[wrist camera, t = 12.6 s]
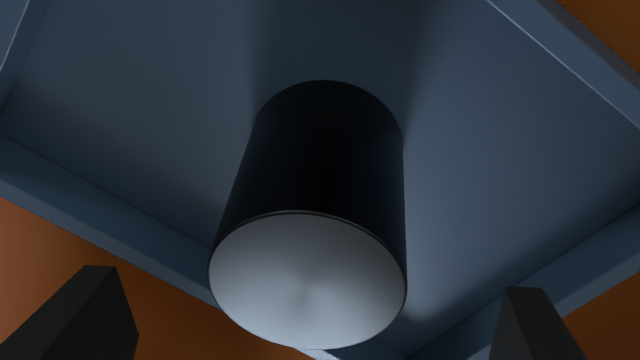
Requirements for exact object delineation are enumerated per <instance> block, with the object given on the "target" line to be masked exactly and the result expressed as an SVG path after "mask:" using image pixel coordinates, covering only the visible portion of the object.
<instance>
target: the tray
mask: <svg viewBox="0 0 640 360" xmlns="http://www.w3.org/2000/svg"><path fill="white" fill-rule="evenodd" d="M313 80H334V81H340V82H345V83H348V84H352V85H355V86H357V87H359V88H362V89H364V90H366V91H367V92H369V93H371V94H372V95H374V96H375V97H376V98H378V99H379V100H380V101H381V102H382V103H383V104H384V105H385V106H386V107H387V108H388V109H389V110H390V112H391V113H392V114H393V116H394V118H395V119H396V121H397V123H398V125H399V128H400V131H401V135H402V141H403V168H404V197H405V225H406V254H407V282H408V292H407V297H406V301H405V304H404V306H403V309H402V310H401V312H400V314H399V315H398V317H397V318H396V319H395V321H394V322H393V323H392V324H391V325H390V326H389V327H388V328H387V329H385V330H384V331H383V332H381V333H380V334H378V335H377V336H375V337H373V338H371V339H369V340H367V341H364V342H362V343H359V344H356V345H352V346H348V347H344V348H337V349H328V350H309V349H298V348H295V349H297V350H298V351H300V352H302V353H304V354H306V355H308V356H310V357H312V358H314V359H316V360H489V353H490V349H491V345H492V341H493V337H494V333H495V329H496V324H497V320H498V316H499V312H500V308H501V304H502V300H503V295H504V291H505V287H506V286H517V287H537V288H542V289H543V290H544V291H545V292H546V293H547V295H548V297H549V298H550V300H551V302H552V304H553V305H554V307H555V309H556V310H557V312H558V314H559V315H560V317H561V318H562V317H564V316H566V315H567V314H569V313H571V312H572V311H574V310H576V309H577V308H579V307H581V306H582V305H584V304H586V303H587V302H589V301H591V300H592V299H594V298H596V297H597V296H599V295H601V294H602V293H604V292H606V291H608V290H609V289H611V288H613V287H614V286H616V285H618V284H619V283H621V282H623V281H624V280H626V279H628V278H629V277H631V276H633V275H634V274H636V273H638V272H639V271H640V74H639V73H637V72H636V71H635V70H634V69H633V68H632V67H631V66H629V65H628V64H627V63H626V62H625V61H624V60H623V59H621V58H620V57H619V56H618V55H617V54H616V53H615V52H614V51H612V50H611V49H610V48H609V47H608V46H607V45H606V44H604V43H603V42H602V41H601V40H600V39H599V38H598V37H596V36H595V35H594V34H593V33H592V32H591V31H590V30H588V29H587V28H586V27H585V26H584V25H583V24H582V23H581V22H579V21H578V20H577V19H576V18H575V17H574V16H573V15H571V14H570V13H569V12H568V11H567V10H566V9H565V8H563V7H562V6H561V5H560V4H559V3H558V2H557V1H556V0H0V196H1V197H3V198H5V199H7V200H9V201H11V202H13V203H15V204H17V205H18V206H20V207H22V208H24V209H26V210H28V211H30V212H32V213H34V214H36V215H38V216H40V217H42V218H44V219H45V220H47V221H49V222H51V223H53V224H55V225H57V226H59V227H61V228H63V229H65V230H67V231H69V232H71V233H73V234H74V235H76V236H78V237H80V238H82V239H84V240H86V241H88V242H90V243H92V244H94V245H96V246H98V247H100V248H101V249H103V250H105V251H107V252H109V253H111V254H113V255H115V256H117V257H119V258H121V259H123V260H125V261H127V262H129V263H130V264H132V265H134V266H136V267H138V268H140V269H142V270H144V271H146V272H148V273H150V274H152V275H154V276H156V277H157V278H159V279H161V280H163V281H165V282H167V283H169V284H171V285H173V286H175V287H177V288H179V289H181V290H183V291H185V292H186V293H188V294H190V295H192V296H194V297H196V298H198V299H200V300H202V301H204V302H206V303H208V304H210V305H212V306H213V307H215V308H217V309H219V310H221V309H220V307H219V306H218V304H217V303H216V301H215V300H214V298H213V296H212V294H211V291H210V288H209V285H208V281H207V274H206V272H207V262H208V257H209V254H210V251H211V248H212V245H213V242H214V239H215V236H216V233H217V231H218V228H219V225H220V222H221V219H222V216H223V213H224V210H225V207H226V204H227V201H228V198H229V196H230V193H231V190H232V187H233V184H234V181H235V178H236V175H237V172H238V169H239V166H240V163H241V161H242V158H243V155H244V152H245V149H246V146H247V143H248V140H249V137H250V134H251V131H252V128H253V126H254V123H255V120H256V118H257V116H258V114H259V112H260V111H261V109H262V108H263V106H264V105H265V104H266V103H267V102H268V101H269V100H270V99H271V98H272V97H273V96H275V95H276V94H277V93H279V92H281V91H282V90H284V89H286V88H288V87H290V86H293V85H296V84H299V83H302V82H307V81H313ZM221 311H222V310H221Z"/></svg>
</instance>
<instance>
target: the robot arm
mask: <svg viewBox="0 0 640 360" xmlns="http://www.w3.org/2000/svg"><path fill="white" fill-rule="evenodd" d="M138 338H139V333H138V330H137V327H136V325H135V322H134V319H133V316H132V313H131V310H130V307H129V304H128V301H127V298H126V295H125V293H124V290H123V287H122V284H121V281H120V278H119V275H118V272H117V269H116V267H112V266H92V265H85V266H83V267H82V268H81V269H80V270H79V271H78V272H77V273H76V274H75V275H74V276H73V277H72V278H71V279H69V280H68V281H67V282H66V283H65V284H64V285H63V286H62V287H61V288H60V289H59V290H58V291H57V292H56V293H55V294H54V295H53V296H52V297H50V298H49V299H48V300H47V301H46V302H45V303H44V304H43V305H42V306H41V307H40V308H39V309H38V310H37V311H36V312H35V313H34V314H33V315H32V316H30V317H29V318H28V319H27V320H26V321H25V322H24V323H23V324H22V325H21V326H20V327H19V328H18V329H17V330H16V331H15V332H13V333H12V334H11V335H10V336H9V337H8V338H7V339H6V340H5V341H4V342H3V343H1V344H0V360H133V357H134V353H135V349H136V346H137V342H138ZM489 360H588V359H587V358H586V356H585V355H584V353H583V351H582V350H581V348H580V347H579V345H578V344H577V342H576V341H575V339H574V338H573V336H572V334H571V333H570V331H569V330H568V328H567V327H566V325H565V323H564V322H563V320H562V318H561V317H560V315H559V314H558V312H557V310H556V309H555V307H554V305H553V304H552V302H551V300H550V298H549V297H548V295H547V293H546V292H545V291H544V290H543V289H542V288H537V287H517V286H506V287H505V291H504V295H503V300H502V304H501V308H500V312H499V316H498V320H497V324H496V329H495V333H494V337H493V341H492V345H491V349H490V353H489Z"/></svg>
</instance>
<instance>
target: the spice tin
mask: <svg viewBox="0 0 640 360" xmlns="http://www.w3.org/2000/svg"><path fill="white" fill-rule="evenodd" d="M206 274H207V281H208V285H209V288H210V291H211V294H212V296H213V298H214V300H215V301H216V303H217V304H218V306H219V307H220V309H221V310H222V311H223V312H224V313H225V314H226V315H227V316H228V317H229V318H230V319H231V320H232V321H234V322H235V323H236V324H237V325H239V326H240V327H242V328H243V329H245V330H246V331H248V332H250V333H252V334H253V335H255V336H258V337H260V338H262V339H264V340H267V341H270V342H273V343H276V344H279V345H283V346H287V347H293V348H298V349H309V350H328V349H337V348H344V347H348V346H352V345H356V344H359V343H362V342H364V341H367V340H369V339H371V338H373V337H375V336H377V335H378V334H380V333H381V332H383V331H384V330H385V329H387V328H388V327H389V326H390V325H391V324H392V323H393V322H394V321H395V319H396V318H397V317H398V315H399V314H400V312H401V310H402V309H403V306H404V304H405V301H406V297H407V292H408V282H407V254H406V225H405V197H404V168H403V141H402V135H401V131H400V128H399V125H398V123H397V121H396V119H395V118H394V116H393V114H392V113H391V112H390V110H389V109H388V108H387V107H386V106H385V105H384V104H383V103H382V102H381V101H380V100H379V99H378V98H376V97H375V96H374V95H372V94H371V93H369V92H367V91H366V90H364V89H362V88H359V87H357V86H355V85H352V84H348V83H345V82H340V81H334V80H313V81H307V82H302V83H299V84H296V85H293V86H290V87H288V88H286V89H284V90H282V91H281V92H279V93H277V94H276V95H275V96H273V97H272V98H271V99H270V100H269V101H268V102H267V103H266V104H265V105H264V106H263V108H262V109H261V111H260V112H259V114H258V116H257V118H256V120H255V123H254V126H253V128H252V131H251V134H250V137H249V140H248V143H247V146H246V149H245V152H244V155H243V158H242V161H241V163H240V166H239V169H238V172H237V175H236V178H235V181H234V184H233V187H232V190H231V193H230V196H229V198H228V201H227V204H226V207H225V210H224V213H223V216H222V219H221V222H220V225H219V228H218V231H217V233H216V236H215V239H214V242H213V245H212V248H211V251H210V254H209V257H208V262H207V272H206Z"/></svg>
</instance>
